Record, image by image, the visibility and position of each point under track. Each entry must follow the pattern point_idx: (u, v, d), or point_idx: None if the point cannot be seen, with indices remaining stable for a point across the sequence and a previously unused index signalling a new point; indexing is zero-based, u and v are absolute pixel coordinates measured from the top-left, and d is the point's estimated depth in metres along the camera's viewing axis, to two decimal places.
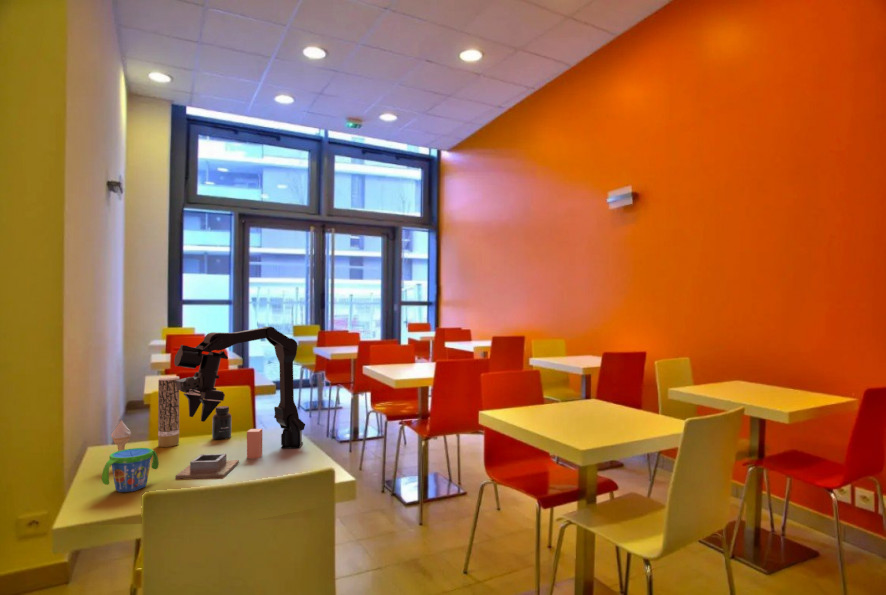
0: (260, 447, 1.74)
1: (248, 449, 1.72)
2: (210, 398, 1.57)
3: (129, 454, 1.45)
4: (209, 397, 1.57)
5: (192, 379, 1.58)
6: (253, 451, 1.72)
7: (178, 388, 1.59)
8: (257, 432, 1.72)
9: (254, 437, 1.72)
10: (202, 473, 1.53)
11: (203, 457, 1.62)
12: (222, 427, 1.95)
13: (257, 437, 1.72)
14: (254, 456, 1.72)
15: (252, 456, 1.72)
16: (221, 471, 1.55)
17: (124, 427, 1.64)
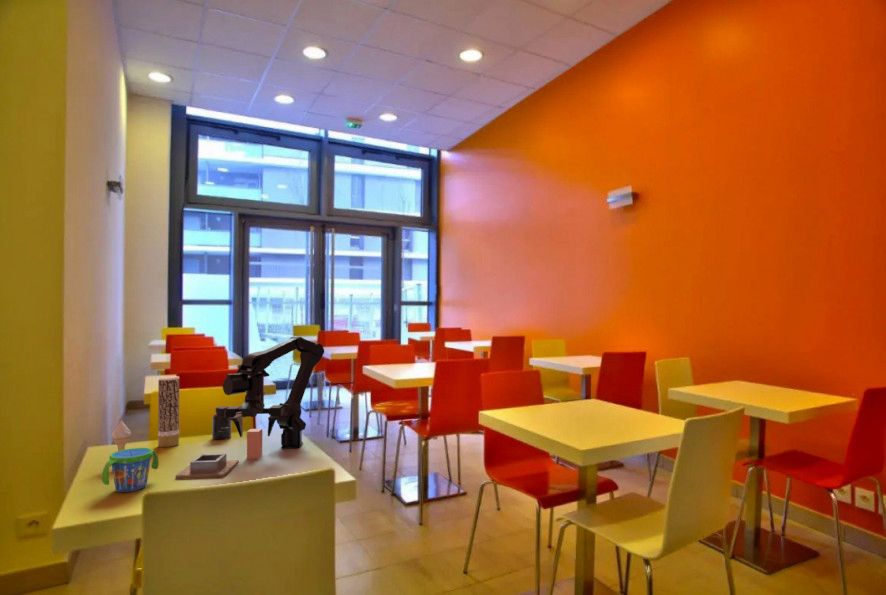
0: (260, 447, 1.74)
1: (248, 449, 1.72)
2: (281, 414, 1.73)
3: (129, 454, 1.45)
4: (281, 413, 1.73)
5: (262, 403, 1.68)
6: (253, 451, 1.72)
7: (246, 415, 1.66)
8: (257, 432, 1.72)
9: (254, 437, 1.72)
10: (202, 473, 1.53)
11: (203, 457, 1.62)
12: (222, 427, 1.95)
13: (257, 437, 1.72)
14: (254, 456, 1.72)
15: (252, 456, 1.72)
16: (221, 471, 1.55)
17: (124, 427, 1.64)
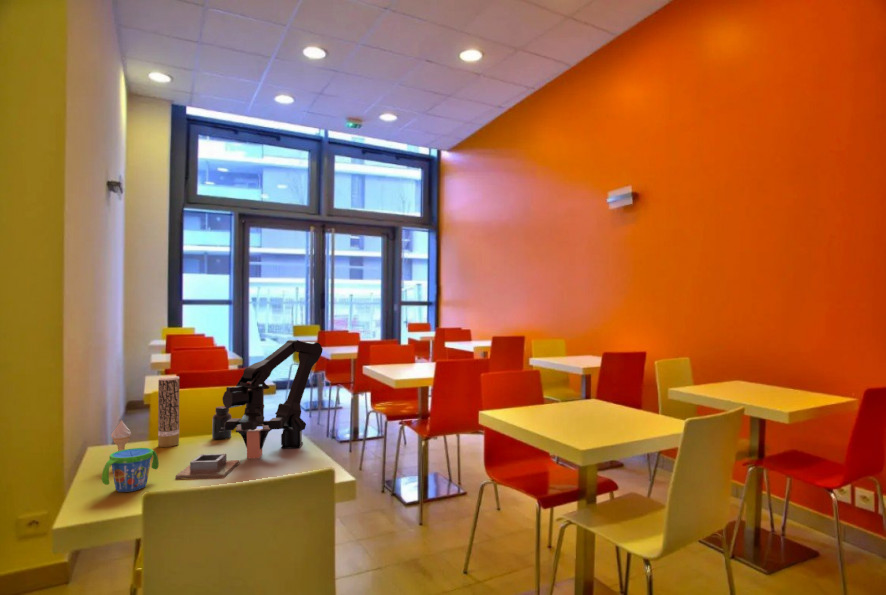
0: None
1: (248, 449, 1.72)
2: (281, 427, 1.73)
3: (129, 454, 1.45)
4: (281, 426, 1.73)
5: (262, 416, 1.68)
6: (253, 451, 1.72)
7: (246, 428, 1.66)
8: (257, 432, 1.72)
9: (254, 437, 1.72)
10: (202, 473, 1.53)
11: (203, 457, 1.62)
12: (222, 427, 1.95)
13: (257, 437, 1.72)
14: (254, 456, 1.72)
15: (252, 456, 1.72)
16: (221, 471, 1.55)
17: (124, 427, 1.64)
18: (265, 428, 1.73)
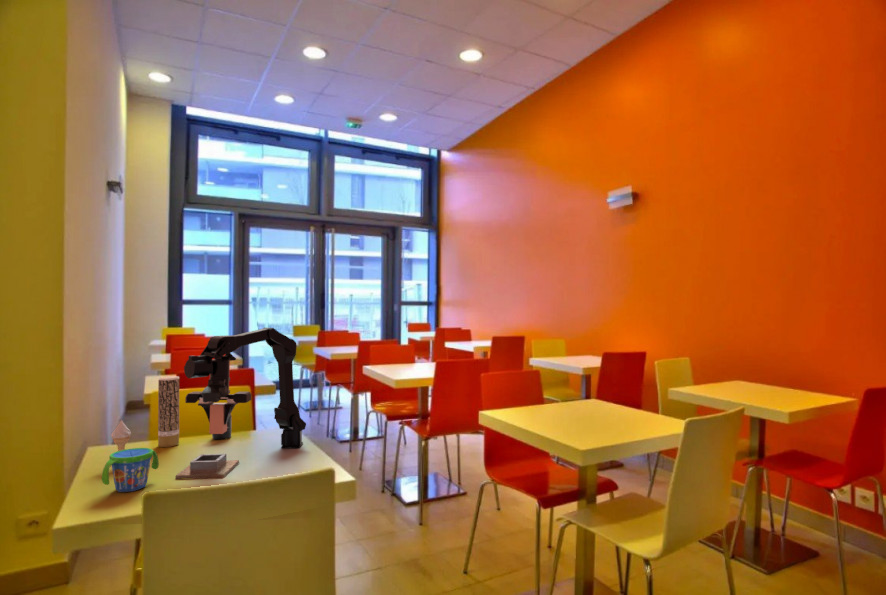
0: None
1: (211, 424, 1.60)
2: (247, 401, 1.62)
3: (129, 454, 1.45)
4: (247, 400, 1.61)
5: (226, 387, 1.57)
6: (216, 426, 1.60)
7: (208, 400, 1.55)
8: (221, 406, 1.61)
9: (217, 411, 1.60)
10: (202, 473, 1.53)
11: (203, 457, 1.62)
12: None
13: (221, 411, 1.60)
14: (217, 431, 1.60)
15: (215, 431, 1.60)
16: (221, 471, 1.55)
17: (124, 427, 1.64)
18: (230, 402, 1.61)
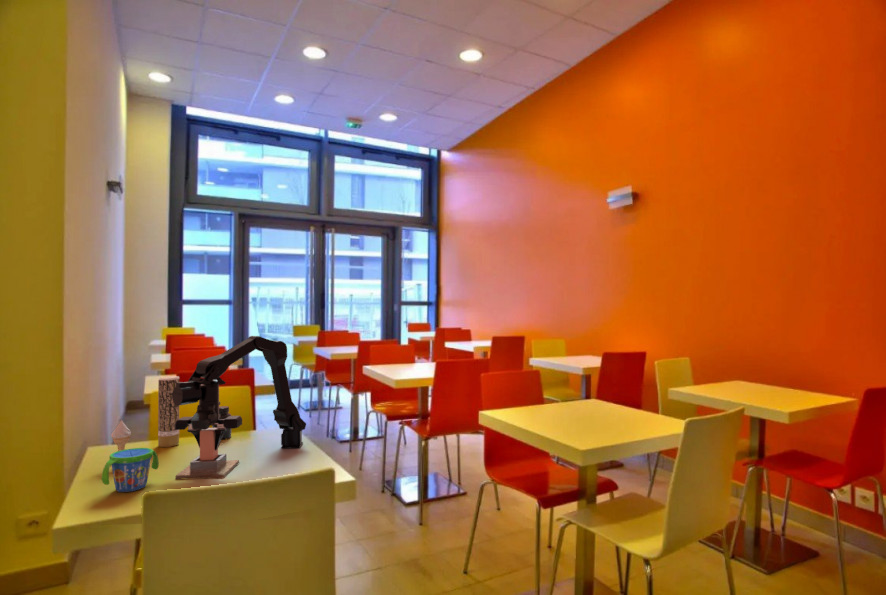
0: None
1: (201, 450, 1.57)
2: (238, 426, 1.59)
3: (129, 454, 1.45)
4: (237, 425, 1.58)
5: (215, 414, 1.54)
6: (206, 452, 1.57)
7: (197, 427, 1.52)
8: (211, 431, 1.58)
9: (207, 437, 1.57)
10: (202, 473, 1.53)
11: None
12: None
13: (211, 437, 1.57)
14: (208, 458, 1.57)
15: (206, 458, 1.57)
16: (221, 471, 1.55)
17: (124, 427, 1.64)
18: (220, 427, 1.58)
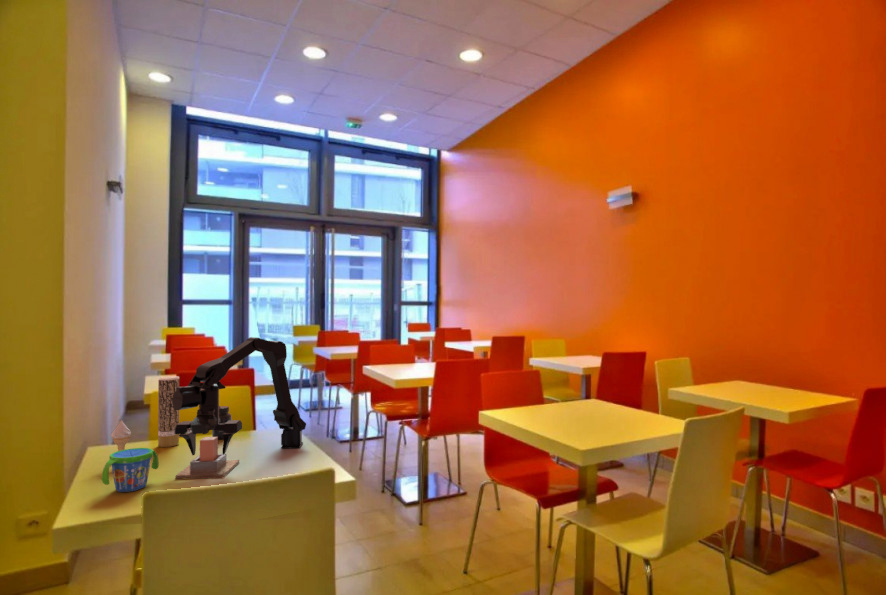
0: (215, 457, 1.59)
1: (201, 459, 1.57)
2: (237, 430, 1.59)
3: (129, 454, 1.45)
4: (237, 429, 1.58)
5: (215, 418, 1.54)
6: None
7: (197, 432, 1.52)
8: (211, 441, 1.57)
9: (207, 447, 1.57)
10: (202, 473, 1.53)
11: None
12: None
13: (211, 446, 1.57)
14: None
15: None
16: (221, 471, 1.55)
17: (124, 427, 1.64)
18: None
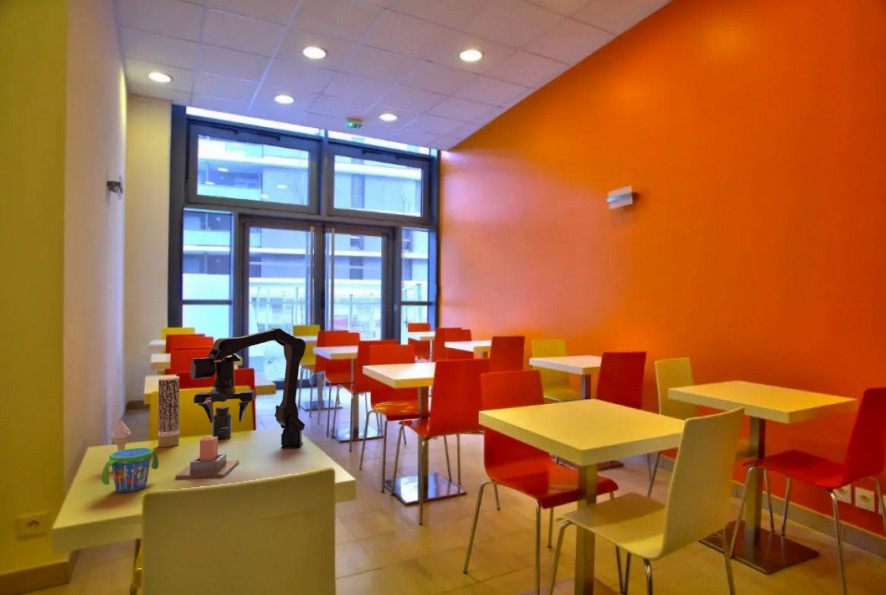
0: (215, 457, 1.59)
1: (201, 459, 1.57)
2: (253, 399, 1.70)
3: (129, 454, 1.45)
4: (252, 398, 1.70)
5: (232, 387, 1.65)
6: None
7: (216, 400, 1.63)
8: (211, 441, 1.57)
9: (207, 447, 1.57)
10: (202, 473, 1.53)
11: None
12: (222, 427, 1.95)
13: (211, 446, 1.57)
14: None
15: None
16: (221, 471, 1.55)
17: (124, 427, 1.64)
18: None
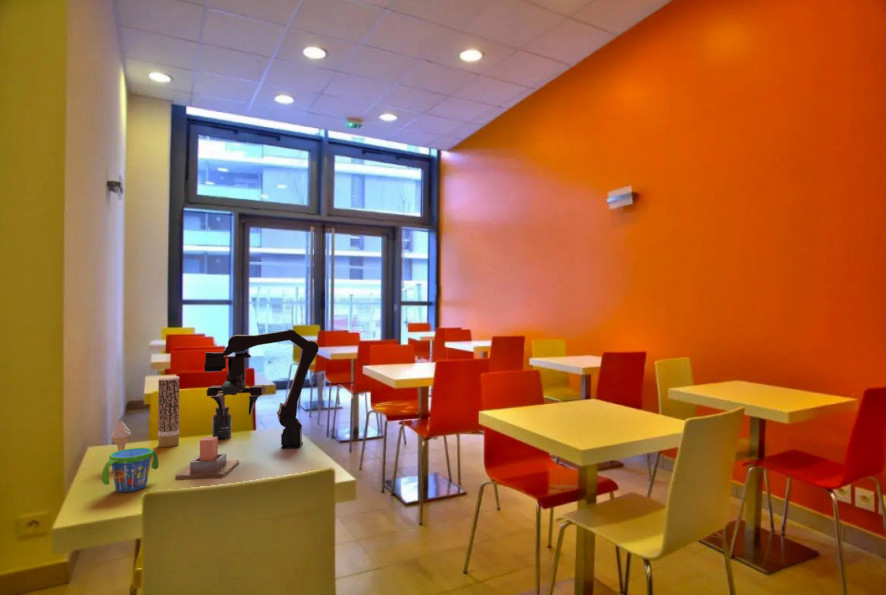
0: (215, 457, 1.59)
1: (201, 459, 1.57)
2: (262, 393, 1.79)
3: (129, 454, 1.45)
4: (262, 392, 1.78)
5: (243, 382, 1.74)
6: None
7: (227, 393, 1.72)
8: (211, 441, 1.57)
9: (207, 447, 1.57)
10: (202, 473, 1.53)
11: None
12: (222, 427, 1.95)
13: (211, 446, 1.57)
14: None
15: None
16: (221, 471, 1.55)
17: (124, 427, 1.64)
18: None
